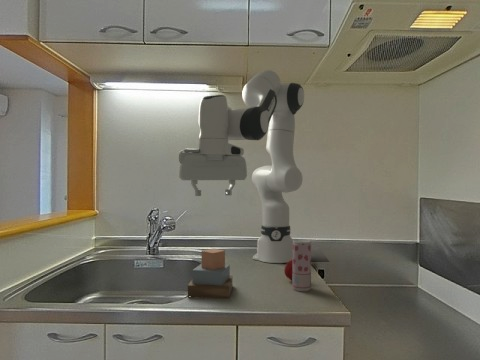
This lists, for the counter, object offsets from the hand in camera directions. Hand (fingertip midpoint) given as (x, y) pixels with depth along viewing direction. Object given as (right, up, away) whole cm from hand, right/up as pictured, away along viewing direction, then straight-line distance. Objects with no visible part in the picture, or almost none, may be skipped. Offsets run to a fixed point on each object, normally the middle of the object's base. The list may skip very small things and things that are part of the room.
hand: (213, 195), depth 118 cm
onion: (+26, -29, +13) cm, 41 cm away
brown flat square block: (-1, -30, +2) cm, 30 cm away
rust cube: (0, -22, +1) cm, 22 cm away
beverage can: (+27, -29, +5) cm, 40 cm away
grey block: (-1, -26, +1) cm, 26 cm away
